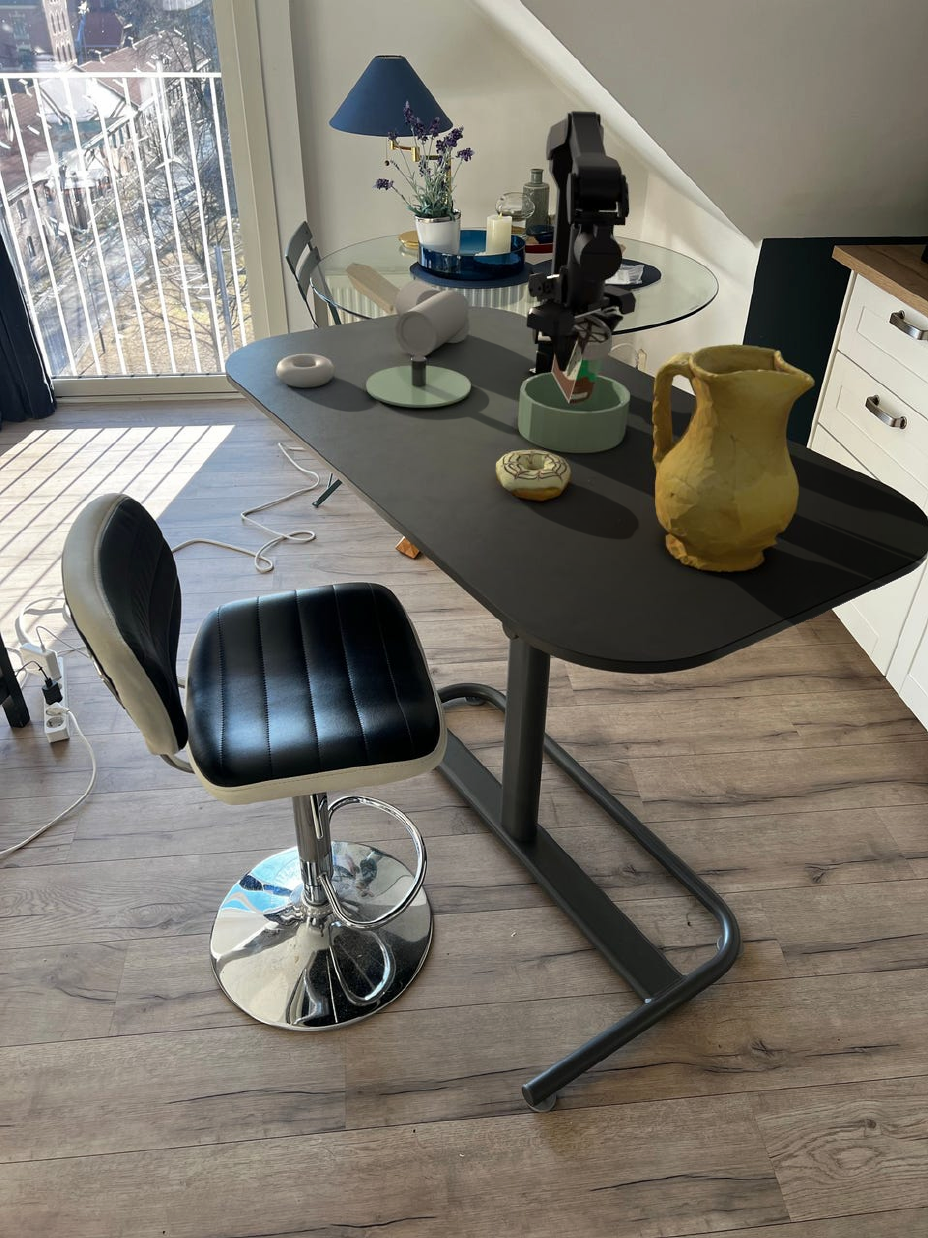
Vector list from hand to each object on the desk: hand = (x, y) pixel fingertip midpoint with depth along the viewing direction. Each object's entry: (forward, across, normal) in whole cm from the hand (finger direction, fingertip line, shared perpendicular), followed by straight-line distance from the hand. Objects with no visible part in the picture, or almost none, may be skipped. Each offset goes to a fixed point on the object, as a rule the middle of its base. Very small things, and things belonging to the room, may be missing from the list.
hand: (576, 365), depth 141 cm
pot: (+10, 0, 0) cm, 11 cm away
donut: (+11, +20, -44) cm, 49 cm away
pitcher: (+10, +13, +35) cm, 39 cm away
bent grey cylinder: (+11, -10, -46) cm, 48 cm away
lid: (+10, +8, -28) cm, 30 cm away
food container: (+4, 0, +1) cm, 4 cm away
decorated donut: (+11, +19, +9) cm, 24 cm away
